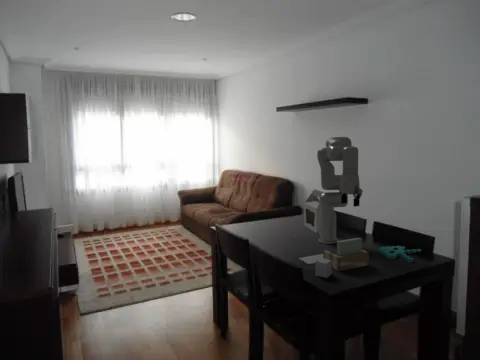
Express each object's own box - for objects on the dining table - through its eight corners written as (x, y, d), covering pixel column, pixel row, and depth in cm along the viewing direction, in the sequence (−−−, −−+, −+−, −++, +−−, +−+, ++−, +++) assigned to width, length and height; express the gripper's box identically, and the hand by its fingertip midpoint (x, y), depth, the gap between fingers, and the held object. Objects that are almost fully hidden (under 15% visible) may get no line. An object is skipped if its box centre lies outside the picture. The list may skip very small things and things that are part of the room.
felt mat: (298, 258, 206) (298, 258, 206) (322, 254, 212) (322, 253, 212) (308, 264, 197) (308, 263, 197) (333, 259, 203) (333, 259, 203)
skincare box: (331, 274, 183) (331, 260, 182) (326, 278, 178) (326, 263, 177) (320, 271, 187) (320, 257, 186) (315, 275, 182) (315, 261, 181)
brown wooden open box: (323, 262, 199) (323, 250, 198) (352, 257, 206) (352, 245, 205) (338, 271, 187) (338, 257, 186) (368, 265, 194) (368, 252, 193)
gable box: (304, 225, 277) (303, 188, 274) (320, 224, 280) (320, 187, 277) (316, 233, 256) (316, 193, 252) (334, 231, 259) (334, 192, 255)
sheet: (336, 267, 192) (336, 241, 190) (358, 263, 197) (358, 237, 195) (339, 268, 190) (339, 242, 188) (361, 264, 195) (362, 238, 193)
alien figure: (421, 253, 211) (385, 247, 223) (421, 249, 211) (385, 243, 223) (411, 263, 196) (373, 256, 208) (411, 259, 195) (374, 252, 208)
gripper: (333, 170, 194) (333, 202, 196) (355, 173, 178) (355, 208, 180) (345, 169, 196) (345, 201, 198) (368, 172, 180) (367, 206, 182)
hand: (350, 204), depth 189 cm, fingers open, 9 cm apart
